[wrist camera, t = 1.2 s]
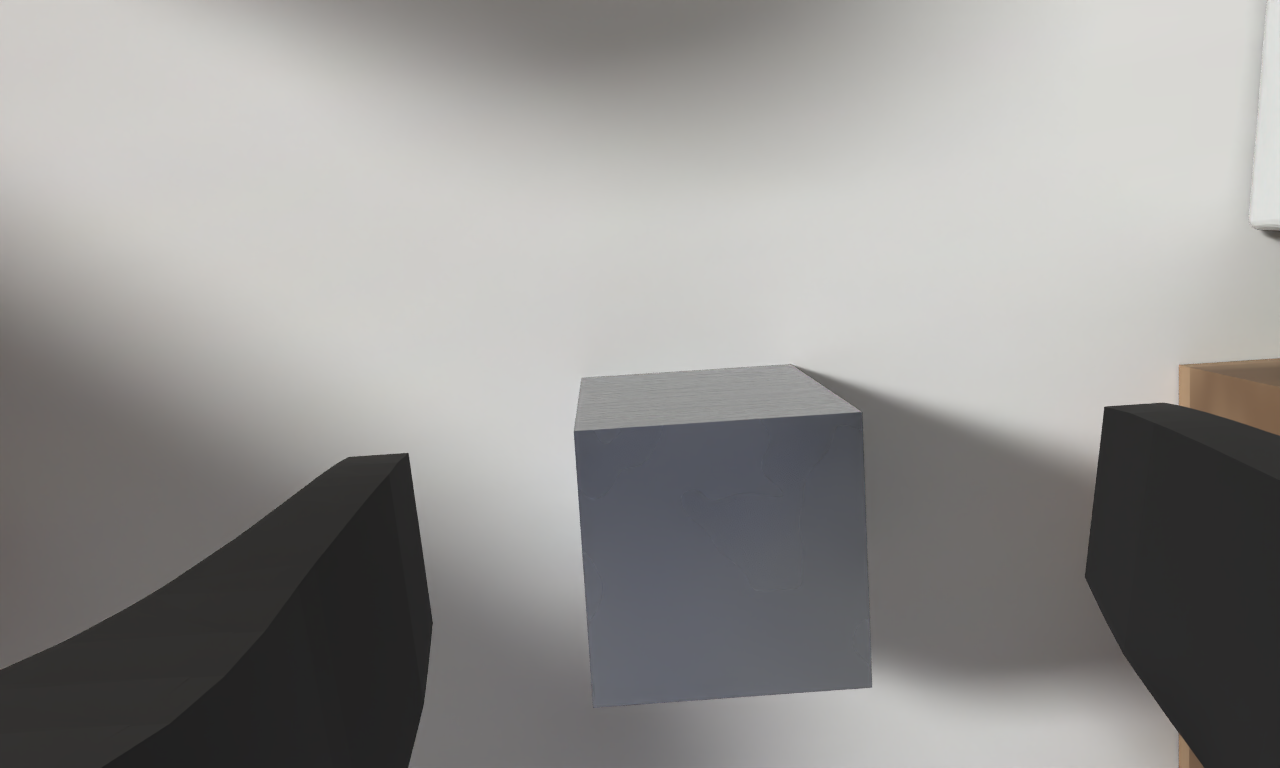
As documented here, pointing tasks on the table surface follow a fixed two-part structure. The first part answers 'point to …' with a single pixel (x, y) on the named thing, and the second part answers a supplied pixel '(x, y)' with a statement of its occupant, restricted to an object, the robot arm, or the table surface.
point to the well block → (1231, 417)
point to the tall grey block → (721, 535)
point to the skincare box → (1268, 130)
